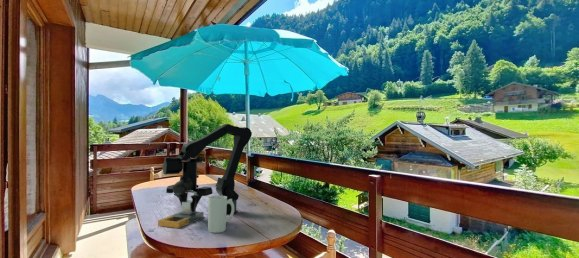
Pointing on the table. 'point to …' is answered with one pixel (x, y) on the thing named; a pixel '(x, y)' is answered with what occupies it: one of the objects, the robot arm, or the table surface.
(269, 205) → the table surface
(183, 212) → the peg
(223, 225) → the mug
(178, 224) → the shallow compartment tray
